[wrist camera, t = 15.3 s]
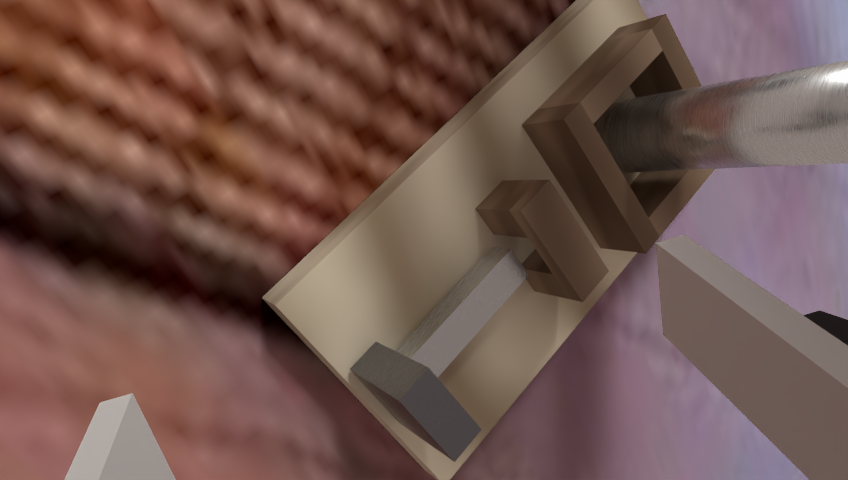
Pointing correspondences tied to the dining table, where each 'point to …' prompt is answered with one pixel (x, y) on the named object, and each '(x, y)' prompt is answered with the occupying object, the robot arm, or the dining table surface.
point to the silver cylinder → (734, 123)
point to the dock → (450, 244)
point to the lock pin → (440, 356)
